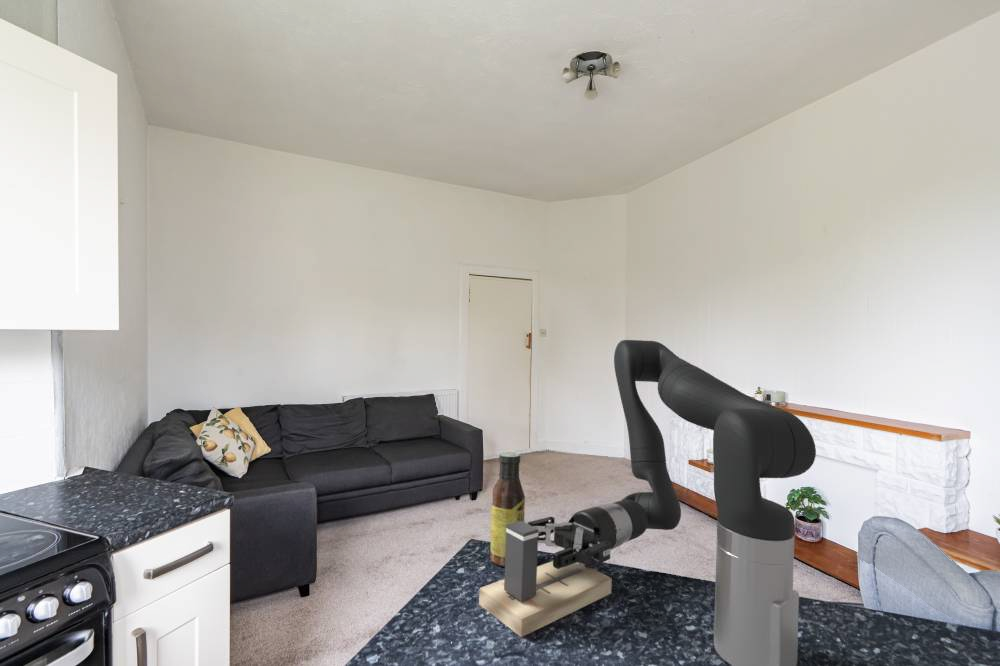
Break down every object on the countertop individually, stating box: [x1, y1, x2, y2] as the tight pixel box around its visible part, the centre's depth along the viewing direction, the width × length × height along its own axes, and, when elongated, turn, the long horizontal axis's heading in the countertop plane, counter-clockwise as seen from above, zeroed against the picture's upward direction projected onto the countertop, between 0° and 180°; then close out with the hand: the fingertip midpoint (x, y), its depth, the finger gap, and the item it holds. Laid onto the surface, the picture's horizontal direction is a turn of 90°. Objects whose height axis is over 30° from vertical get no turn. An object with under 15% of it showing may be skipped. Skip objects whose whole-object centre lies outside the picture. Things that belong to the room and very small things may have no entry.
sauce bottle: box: [489, 451, 526, 567], centre depth 88 cm, size 7×6×20 cm
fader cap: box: [504, 521, 539, 601], centre depth 72 cm, size 4×3×10 cm
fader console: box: [478, 560, 613, 638], centre depth 75 cm, size 10×20×3 cm, turn 129°
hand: (535, 551), depth 73 cm, fingers open, 8 cm apart
